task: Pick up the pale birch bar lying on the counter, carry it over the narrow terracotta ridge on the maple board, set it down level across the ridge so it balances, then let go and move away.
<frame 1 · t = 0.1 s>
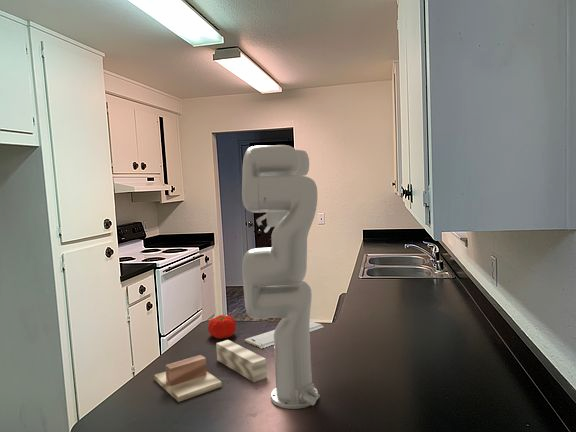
hand: (282, 243, 143), 37 cm above the counter, tool pointing down, fingers open, 9 cm apart
tomato: (222, 337, 163), on the counter
baseboard molding: (287, 336, 162), on the counter
ridge stand: (187, 383, 124), on the counter
birch bar: (240, 369, 133), on the counter
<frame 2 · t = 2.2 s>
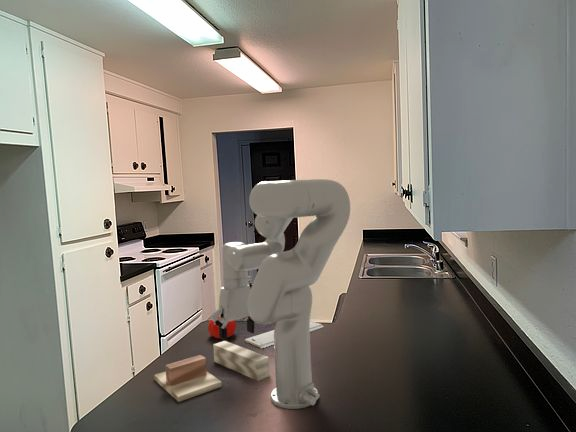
hand: (237, 335, 133), 10 cm above the counter, tool pointing down, fingers open, 9 cm apart
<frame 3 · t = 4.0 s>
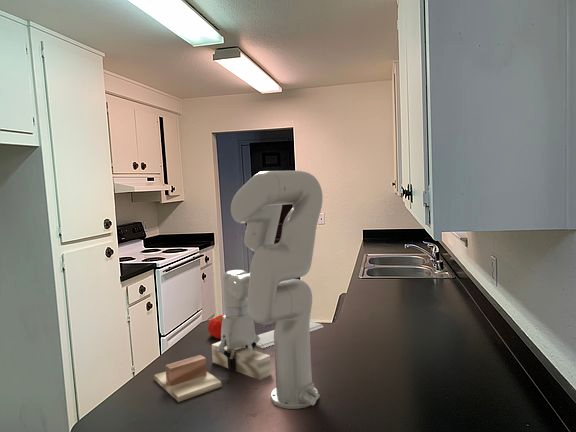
hand: (240, 366, 133), 1 cm above the counter, tool pointing down, fingers closed on birch bar, 5 cm apart
birch bar: (240, 368, 133), on the counter, touching gripper
everything else where it was.
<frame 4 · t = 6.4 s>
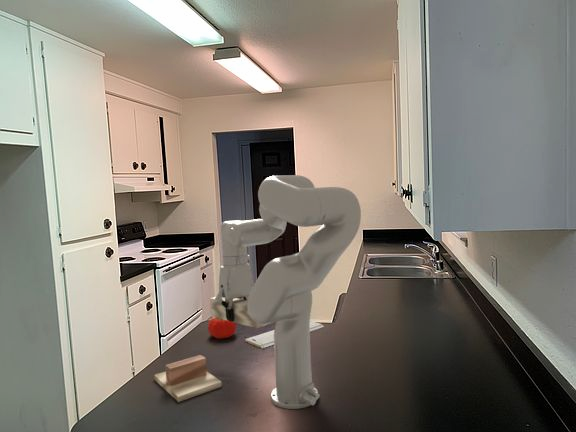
hand: (238, 318, 132), 16 cm above the counter, tool pointing down, fingers closed on birch bar, 5 cm apart
birch bar: (238, 320, 132), point 15 cm above the counter, touching gripper
everything else where it was.
when the fingers open (11 cm above the counter, at t = 8.9 s): birch bar drops 3 cm, resting on ridge stand.
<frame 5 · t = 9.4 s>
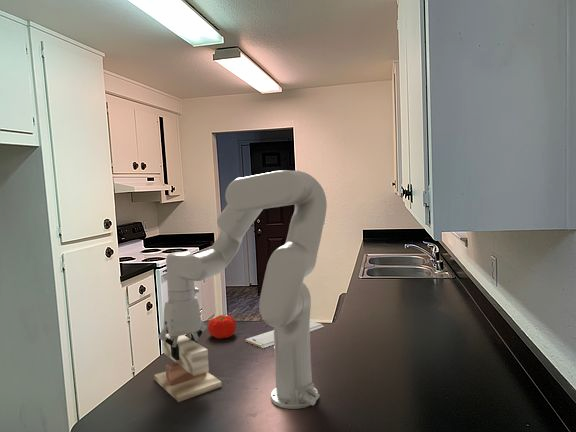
hand: (184, 355, 124), 8 cm above the counter, tool pointing down, fingers open, 4 cm apart
birch bar: (184, 361, 124), point 6 cm above the counter, touching gripper, ridge stand
everything else where it was.
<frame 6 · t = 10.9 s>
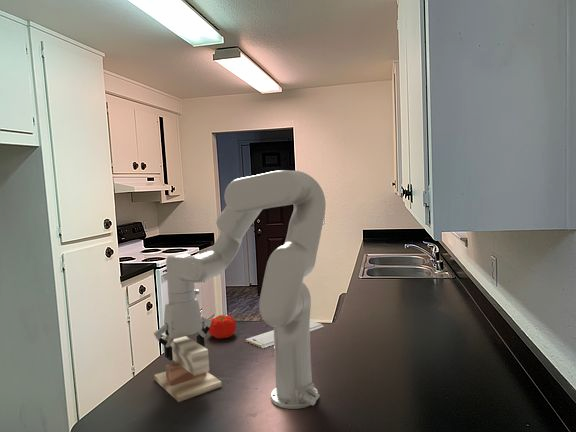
hand: (185, 354, 124), 9 cm above the counter, tool pointing down, fingers open, 9 cm apart
birch bar: (185, 361, 124), point 6 cm above the counter, touching ridge stand
everything else where it was.
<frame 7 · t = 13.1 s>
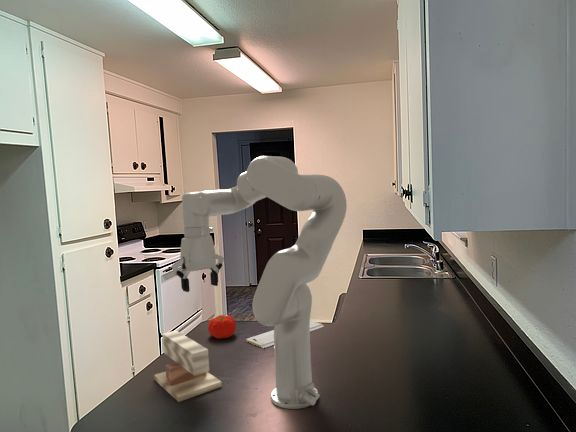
hand: (200, 288, 130), 26 cm above the counter, tool pointing down, fingers open, 9 cm apart
nothing on the counter moved.
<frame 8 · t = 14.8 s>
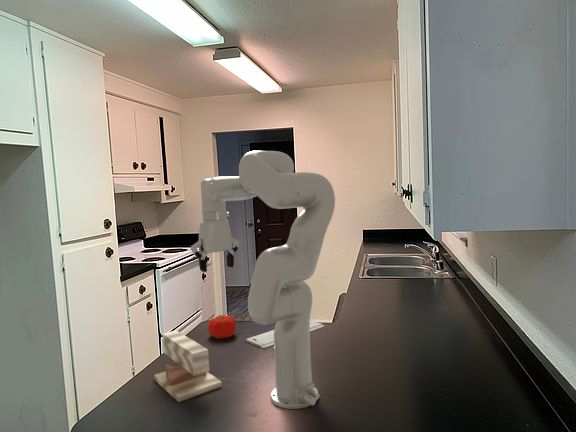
hand: (217, 269, 138), 30 cm above the counter, tool pointing down, fingers open, 9 cm apart
nothing on the counter moved.
at the end: birch bar 0.3 cm off-centre on the ridge stand, point 6.5 cm above the ridge stand's base; birch bar tilted 0°; the gripper is holding nothing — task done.
